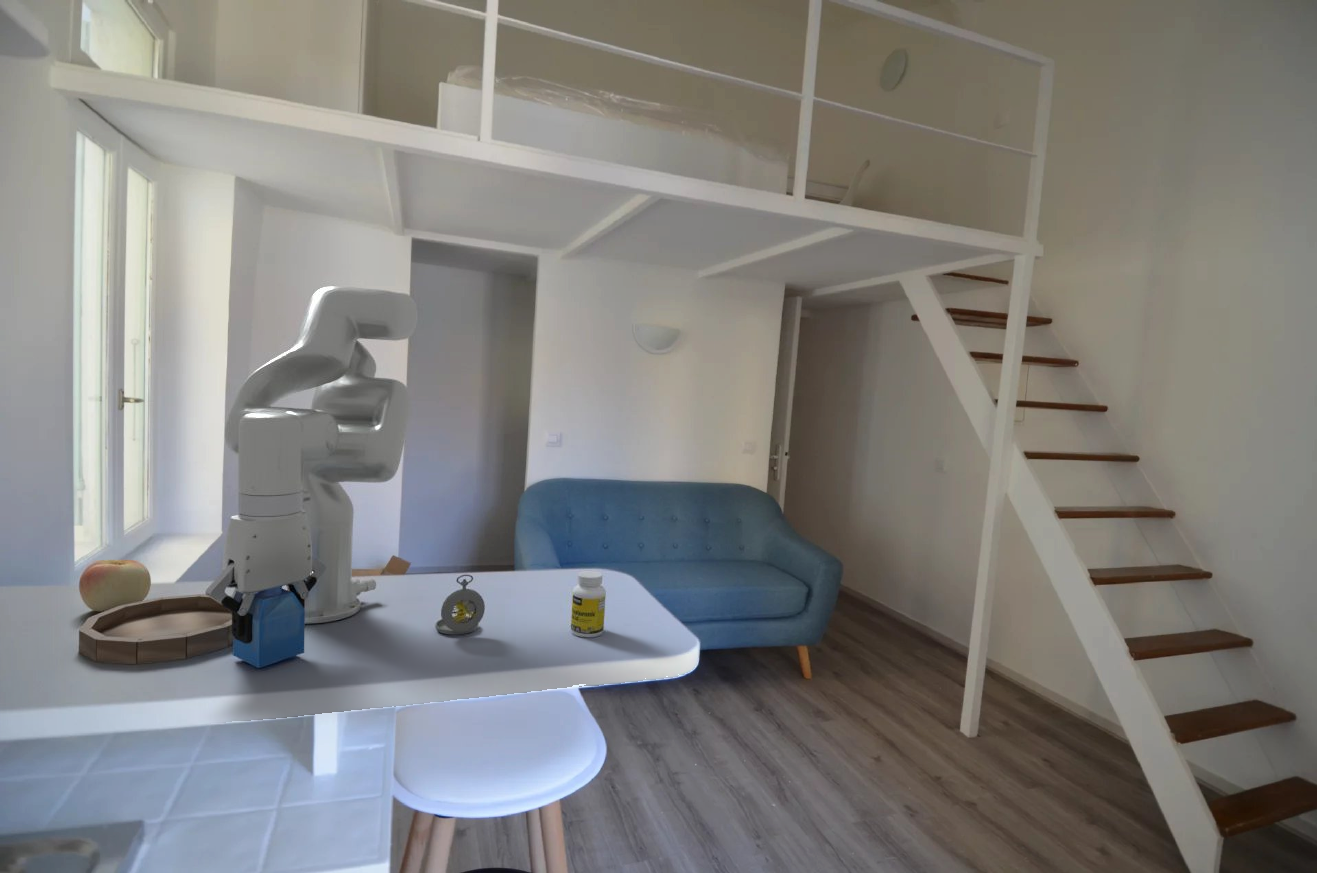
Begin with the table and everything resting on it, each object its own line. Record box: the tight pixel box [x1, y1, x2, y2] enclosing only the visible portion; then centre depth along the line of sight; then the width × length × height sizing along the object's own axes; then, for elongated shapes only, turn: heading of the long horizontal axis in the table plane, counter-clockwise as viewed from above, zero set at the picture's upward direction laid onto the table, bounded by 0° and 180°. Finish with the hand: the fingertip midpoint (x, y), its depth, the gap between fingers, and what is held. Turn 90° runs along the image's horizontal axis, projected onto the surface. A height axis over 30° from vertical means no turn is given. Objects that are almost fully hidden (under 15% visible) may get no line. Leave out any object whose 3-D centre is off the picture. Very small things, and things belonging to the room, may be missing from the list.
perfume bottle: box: [232, 586, 306, 669], centre depth 91 cm, size 6×6×12 cm
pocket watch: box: [434, 574, 486, 635], centre depth 105 cm, size 8×8×10 cm
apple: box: [78, 559, 152, 613], centre depth 106 cm, size 9×9×8 cm
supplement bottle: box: [570, 570, 607, 638], centre depth 109 cm, size 5×5×10 cm
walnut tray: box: [78, 593, 233, 665], centre depth 97 cm, size 20×20×3 cm
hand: (269, 631), depth 91 cm, fingers closed on perfume bottle, 6 cm apart
